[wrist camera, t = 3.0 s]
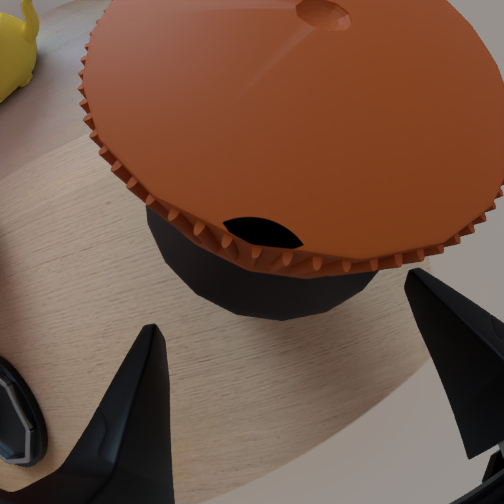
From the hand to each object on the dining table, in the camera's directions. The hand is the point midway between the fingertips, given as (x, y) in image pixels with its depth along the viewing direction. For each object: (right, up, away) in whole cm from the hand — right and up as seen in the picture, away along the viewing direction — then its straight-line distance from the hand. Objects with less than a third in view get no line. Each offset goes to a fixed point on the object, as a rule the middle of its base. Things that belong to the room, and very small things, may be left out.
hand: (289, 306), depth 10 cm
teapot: (-31, +24, +14) cm, 42 cm away
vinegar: (-1, +2, +12) cm, 12 cm away
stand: (-27, -15, +10) cm, 33 cm away
